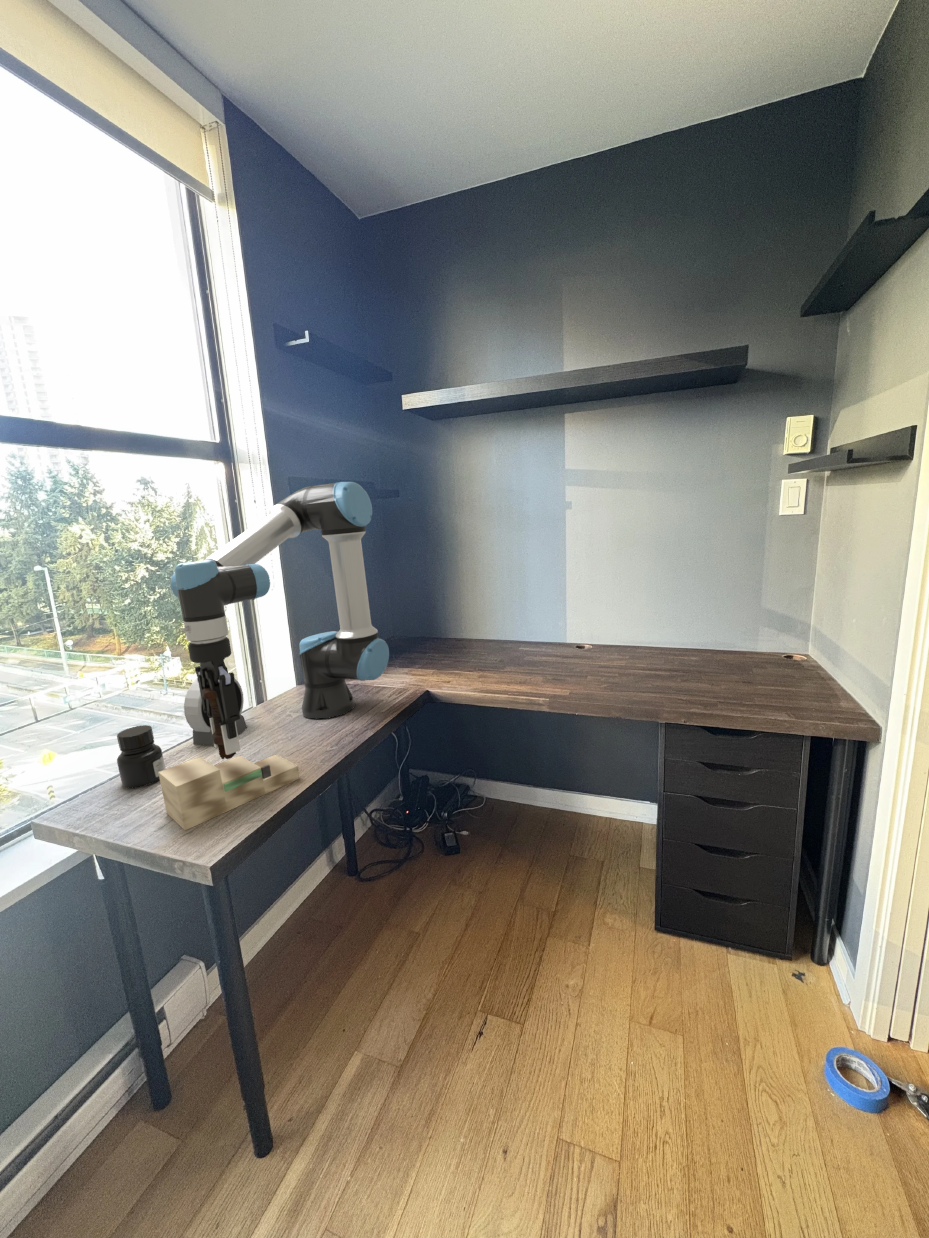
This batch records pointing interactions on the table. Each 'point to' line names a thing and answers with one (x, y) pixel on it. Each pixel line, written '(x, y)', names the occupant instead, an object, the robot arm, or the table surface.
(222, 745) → the bolt
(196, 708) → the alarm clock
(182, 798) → the stair stand
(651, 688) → the table surface
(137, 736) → the ink bottle
